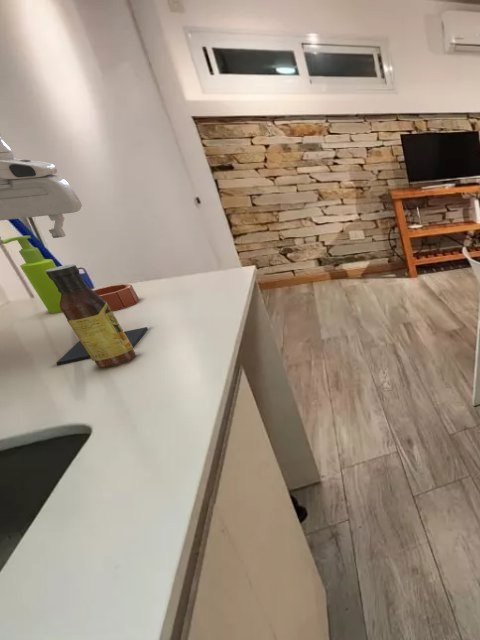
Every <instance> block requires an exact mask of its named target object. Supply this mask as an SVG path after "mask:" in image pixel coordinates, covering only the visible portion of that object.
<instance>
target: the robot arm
mask: <svg viewBox="0 0 480 640" xmlns="http://www.w3.org/2000/svg"><path fill="white" fill-rule="evenodd" d="M57 173H58V169H57V167H56V166H55V164H53V163H51V162H45V161H39V160H33V159H26V158H20V157H16V155H15V153H14V152H13V150H12V149H11V147H10V146H9V145H8V144H7V142H5V141H4V139H3V138H2V135H1V134H0V221H8V220H18V219H19V220H20V219H26V218H27V219H29V218H35V217H37V218H38V217H45V216H46V217H47V216H48V218H49V220H50V221H51V222H54V224H53V228H50V229H48V232H49V234H51V237H52V238H53V239H58V238H59V239H60V238H64V237H66V233H65V231H64V229H63V227H64V222H65V217H64V215H63V214H75V213H77V212H79V211H80V210H81V209H82V207H83V206H82V205H83V204H82V202H81V200H80V198H79V196H78V195H77V193H76V192H75V190H74V189H73V188H72V186H71V185H70V183H69V182H68V181H67V180H66V179H65V178H63V177H62V176H60V175H57ZM3 240H4V239H2V236H0V245H4V244H3Z"/></svg>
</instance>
